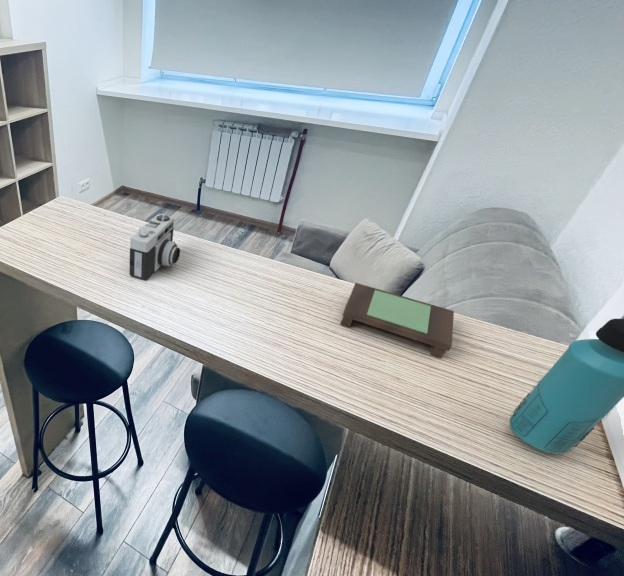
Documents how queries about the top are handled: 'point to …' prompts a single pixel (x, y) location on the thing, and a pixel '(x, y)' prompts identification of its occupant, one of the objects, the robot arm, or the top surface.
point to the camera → (153, 247)
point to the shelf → (401, 317)
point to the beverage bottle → (574, 392)
